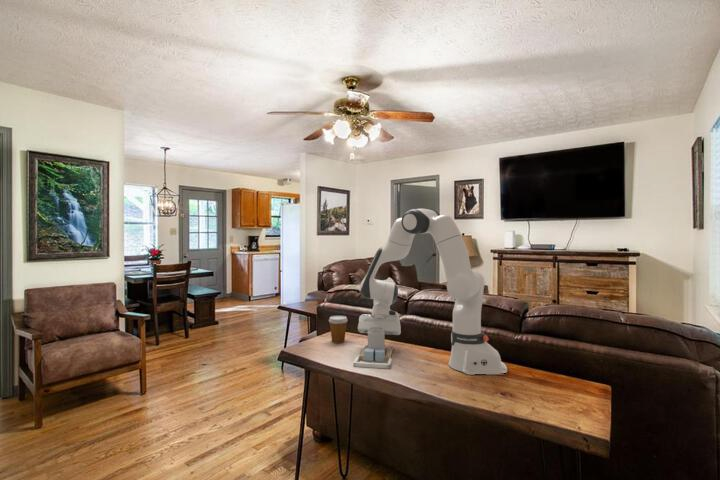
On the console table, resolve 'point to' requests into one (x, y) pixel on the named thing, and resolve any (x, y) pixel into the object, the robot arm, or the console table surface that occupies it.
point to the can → (376, 338)
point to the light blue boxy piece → (379, 355)
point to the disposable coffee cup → (338, 328)
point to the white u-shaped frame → (372, 364)
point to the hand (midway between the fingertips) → (377, 341)
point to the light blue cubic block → (369, 354)
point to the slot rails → (387, 356)
